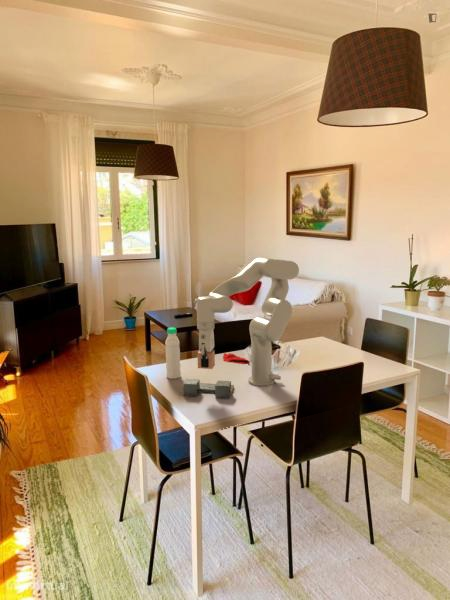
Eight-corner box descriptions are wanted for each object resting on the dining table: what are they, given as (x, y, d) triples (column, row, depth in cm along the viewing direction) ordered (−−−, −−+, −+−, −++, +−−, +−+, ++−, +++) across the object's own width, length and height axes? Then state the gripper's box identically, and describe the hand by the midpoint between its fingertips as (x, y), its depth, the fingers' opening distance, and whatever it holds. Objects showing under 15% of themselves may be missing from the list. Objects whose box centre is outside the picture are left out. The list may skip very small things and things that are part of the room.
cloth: (215, 355, 262) (215, 351, 262) (237, 352, 267) (236, 348, 267) (232, 369, 238) (232, 365, 238) (255, 365, 243) (255, 361, 243)
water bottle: (178, 379, 223) (176, 330, 218) (164, 378, 224) (162, 329, 220) (182, 374, 230) (180, 326, 225) (169, 374, 231) (167, 326, 226)
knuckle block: (214, 365, 203) (214, 350, 201) (212, 369, 198) (212, 353, 197) (200, 364, 204) (200, 349, 203) (197, 368, 199) (197, 352, 198)
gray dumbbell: (236, 388, 211) (235, 375, 210) (231, 399, 199) (230, 386, 197) (189, 385, 215) (188, 373, 214) (181, 396, 203) (181, 383, 202)
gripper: (209, 330, 189) (210, 372, 192) (218, 320, 205) (218, 359, 208) (192, 329, 190) (193, 371, 193) (202, 320, 206) (202, 358, 210)
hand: (206, 364), depth 201 cm, fingers closed on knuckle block, 5 cm apart
